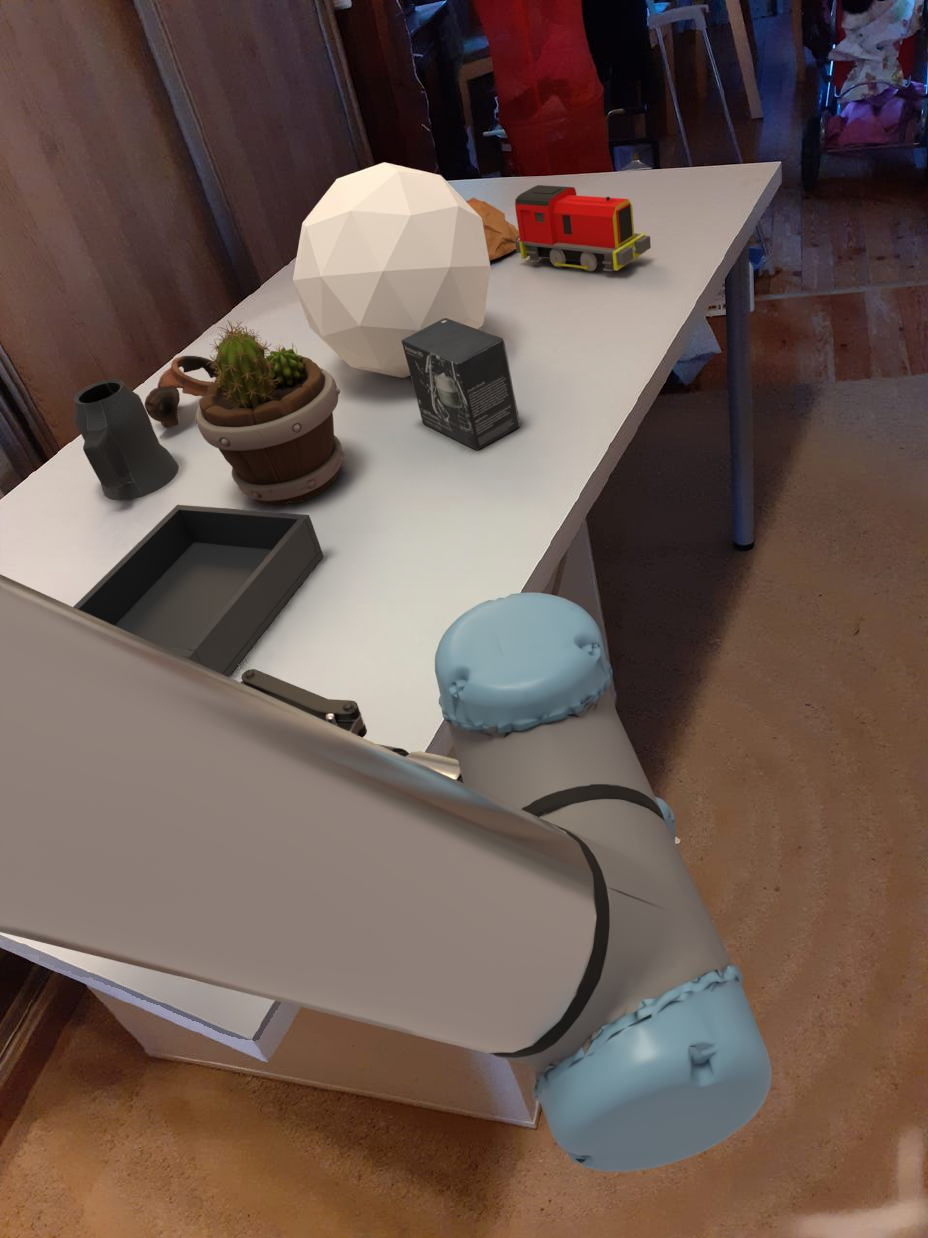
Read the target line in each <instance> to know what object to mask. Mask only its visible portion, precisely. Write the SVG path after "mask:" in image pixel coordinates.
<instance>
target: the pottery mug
mask: <svg viewBox="0 0 928 1238" xmlns="http://www.w3.org/2000/svg"><path fill="white" fill-rule="evenodd" d="M211 361H213V360H212V359H209V358H206V357H203V356H199V355H198V356H197V355H181V356H179V357H176V358H174V359H173V360H172V361H171V364H170V366H171V367H169V368H168V369H167V370H165V371H164V372H163V373H162V374H161V376H160V377H159V379H158V383H157V387H155V388H153V389H152V390H151V391H150V392H149V393H148V394H147V396H146V398H145V399H144V400H145V401H144V407H145V410H146V412H147V414H148V416H149V418H150V419H153V420H154V421H157V422H160V423H161V426H163V427H164V428H167V427H168V426H170V427H171V426H178V425H179V418H178V417H179V415H178V410H179V404H180V402H181V401H180V400H181V399H180V398H181V397H180V392H179V389H182V390H181V391H182V394H186V395H191V396H194V397H202V398H203V397H205V396H207V390H208V387H209V385H210V384H211V383H213V382H214V381H213V382H212V381H207V380H200V379H198V378H195V377H192V376H190V375H188V374H185V373H190V372H193V371H198V370H200V369H203V370H204V371H205V372H206V373H207V374H208V376H209V378H210V379H213V378H214V379H216V377H218V375H217V372H218V369H219V368H217V370H216V369H215V368H216V367H218V366H216V364H217V363H215V365H214V366H215V367H214V368H213V365H212V364H213V363H214V362H211ZM209 362H211V363H209ZM208 363H209V364H208ZM211 365H212V366H211ZM181 367H182V369H183V371H182V370H181ZM210 367H211V368H210ZM214 372H216V373H214ZM213 375H214V376H216V377H214V376H213Z"/></svg>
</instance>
